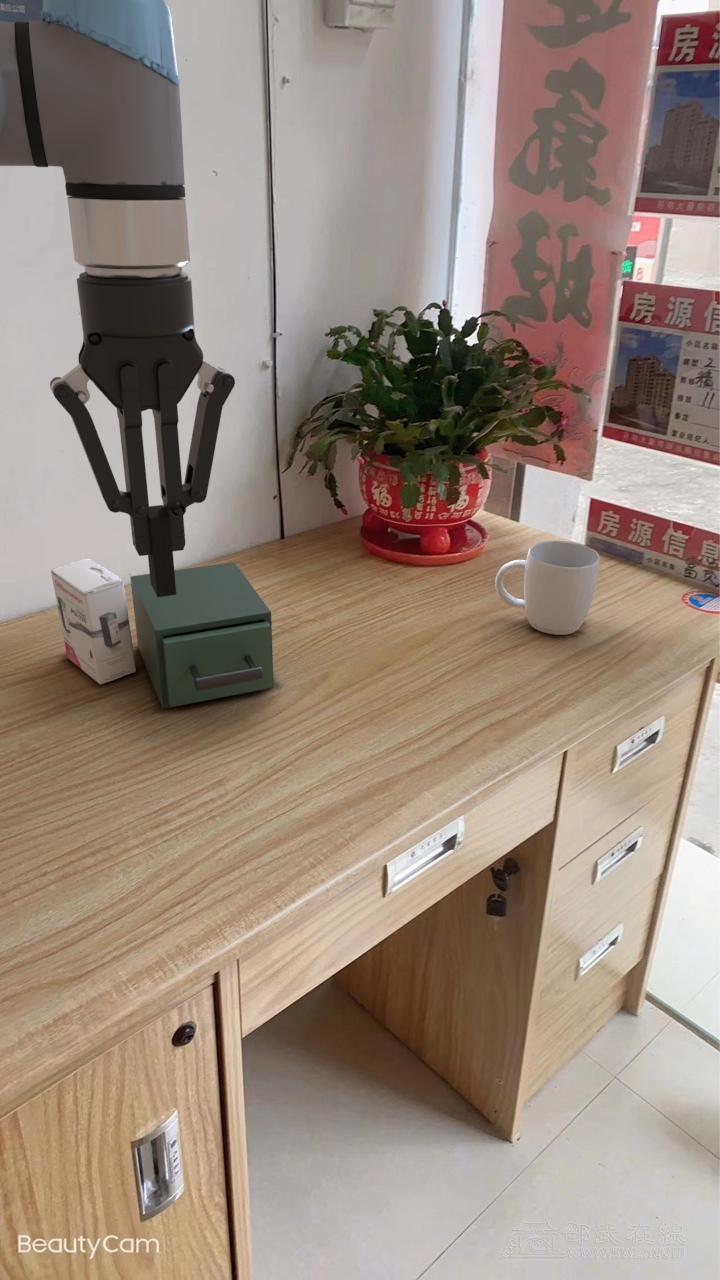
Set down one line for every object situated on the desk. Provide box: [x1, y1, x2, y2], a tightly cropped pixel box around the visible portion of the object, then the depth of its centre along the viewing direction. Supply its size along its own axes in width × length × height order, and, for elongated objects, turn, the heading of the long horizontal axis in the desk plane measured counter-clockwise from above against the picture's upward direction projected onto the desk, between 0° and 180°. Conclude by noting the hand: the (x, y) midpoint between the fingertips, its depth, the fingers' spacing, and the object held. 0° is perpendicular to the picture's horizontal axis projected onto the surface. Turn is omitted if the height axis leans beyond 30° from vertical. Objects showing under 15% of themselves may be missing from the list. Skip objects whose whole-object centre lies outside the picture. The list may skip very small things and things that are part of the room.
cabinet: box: [129, 561, 274, 709], centre depth 102 cm, size 15×13×10 cm
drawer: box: [162, 621, 273, 708], centre depth 98 cm, size 18×11×8 cm, turn 23°
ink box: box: [50, 558, 137, 685], centre depth 101 cm, size 9×5×12 cm, turn 43°
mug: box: [494, 540, 601, 636], centre depth 114 cm, size 13×9×10 cm
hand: (163, 588), depth 70 cm, fingers closed
